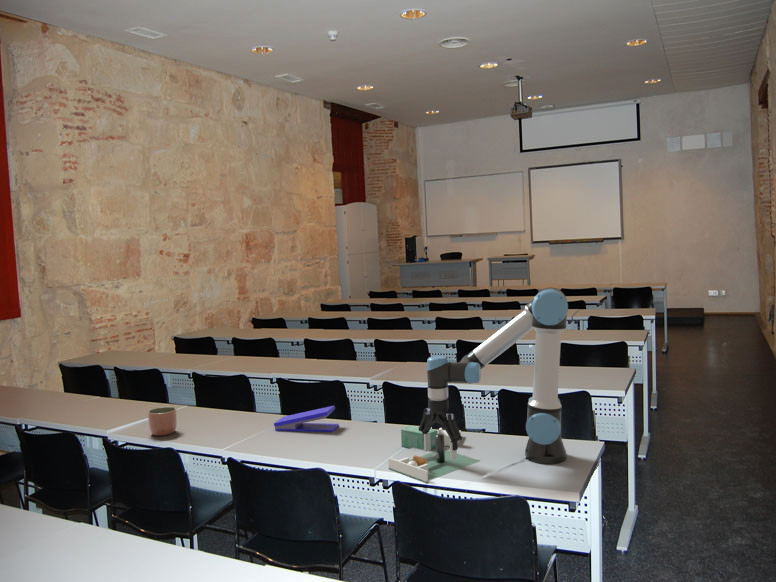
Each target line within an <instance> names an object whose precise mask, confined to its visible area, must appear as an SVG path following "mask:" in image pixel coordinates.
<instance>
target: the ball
mask: <svg viewBox="0 0 776 582" xmlns="http://www.w3.org/2000/svg"><path fill="white" fill-rule="evenodd" d="M408 464H409V465H412V466H415V467H418V464H417V463H416V462H415V461H410V462H409V463H408Z"/></svg>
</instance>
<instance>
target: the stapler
mask: <svg viewBox="0 0 776 582" xmlns="http://www.w3.org/2000/svg"><path fill="white" fill-rule="evenodd" d="M335 409H336V406H335V405H330V406H327V407H321V408H317V409H312V410H308V411H304V412H299V413H295V414H290V415H286V416H282V417H281V418H279V419H278V420H276V421H275V422H274V423H273V426H274V431H277V432H309V433H311V432H312V433H314V432H315V433H333V432H334V431H336V429H337V428H338V427H339V426H340V424H339V423H323V422H322V423H320V422H319V423H318V422H315V423H314V421H318V420H319V421H321V420H324V419H326V418H327V417H329V415H330V414H332V413H333V412H334V411H335ZM312 422H313V423H312Z"/></svg>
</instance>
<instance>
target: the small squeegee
mask: <svg viewBox="0 0 776 582" xmlns="http://www.w3.org/2000/svg"><path fill="white" fill-rule="evenodd" d="M435 437H436V447H435V451H436V454H434V455H431V456H428V457H425V458H422V457H420V456H419V455H413V456H412V459H413V461H415V462H416V463H417V464H418V466H421V465H424V464H427V462H430V461H432V460H435V459H436V462H439V463H442V462H445V450H446V449H445V446H444V434H439V433H438V434H436V435H435Z"/></svg>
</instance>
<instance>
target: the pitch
mask: <svg viewBox="0 0 776 582" xmlns="http://www.w3.org/2000/svg"><path fill="white" fill-rule="evenodd" d="M434 454H436V450H435V451H433V452H430V453H427V454H426V453H425V454H424V455H421V456H419V457H422V458H425V457H428V456H431V455H434ZM387 461H388V470H389V471H391V472H395V473H396V474H400V475H403V476H406V477H409V478H411V479H414V480H416V481H419V482H421V483H425V484H430V482H429V481H432V480H434V479H436V478H440V477H442V476H445V475H447V474H450V473H452V472H455V471H457V470H458V471H459V470H460V469H463V468H465V467H468V466H470V465H473V464H477V463H478V462H481V460H480V459H475V458H473V457H469V456H466V455H463V454H460V453H457V458H455V459H452V460H451V459H450V450H447V449H445V462H442V463H439V462H436V459H435V460H432V461H430V462H427V464H424V465H421V466H418V467H415V466H412V465H409V464H408V463H409V462H410V461H413V458H412V459H410V457H407V456H406V457H404V458H401V459H394V458H392V457H388V459H387Z"/></svg>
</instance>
